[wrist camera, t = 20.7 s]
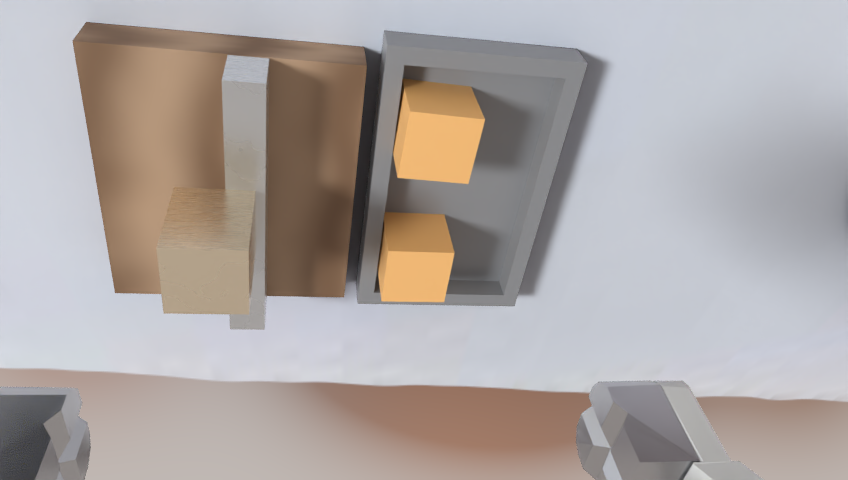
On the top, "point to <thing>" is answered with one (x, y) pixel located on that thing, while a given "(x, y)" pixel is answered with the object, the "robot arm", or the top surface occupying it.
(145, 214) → the chopping board
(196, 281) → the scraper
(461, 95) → the orange cube
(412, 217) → the orange cube
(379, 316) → the top surface
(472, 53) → the tray
